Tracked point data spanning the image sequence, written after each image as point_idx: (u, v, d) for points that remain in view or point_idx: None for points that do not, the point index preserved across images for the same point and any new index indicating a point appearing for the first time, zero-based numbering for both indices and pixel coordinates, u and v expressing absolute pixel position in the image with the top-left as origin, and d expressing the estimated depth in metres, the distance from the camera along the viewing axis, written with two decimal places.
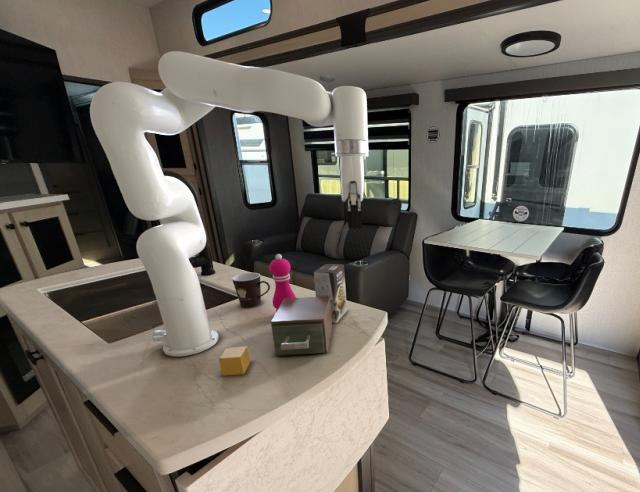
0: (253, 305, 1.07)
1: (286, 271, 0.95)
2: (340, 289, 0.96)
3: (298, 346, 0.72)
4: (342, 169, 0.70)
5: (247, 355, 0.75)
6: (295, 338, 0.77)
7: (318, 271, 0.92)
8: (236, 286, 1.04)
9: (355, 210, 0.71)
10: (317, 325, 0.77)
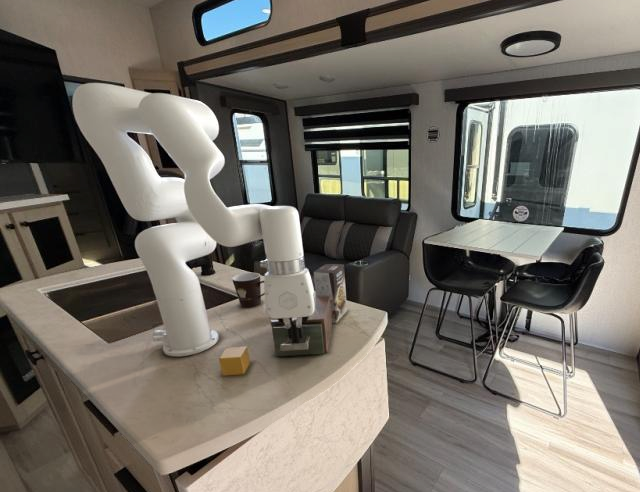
0: (253, 305, 1.07)
1: None
2: (340, 289, 0.96)
3: (298, 347, 0.72)
4: (308, 286, 0.68)
5: (247, 355, 0.75)
6: None
7: (318, 271, 0.92)
8: (236, 286, 1.04)
9: None
10: (317, 326, 0.76)
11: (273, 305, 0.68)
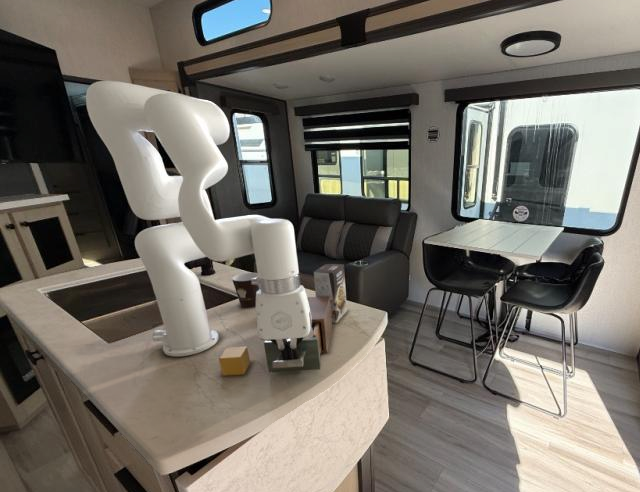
0: (253, 305, 1.07)
1: None
2: (340, 289, 0.96)
3: (292, 364, 0.66)
4: (304, 305, 0.63)
5: (247, 355, 0.75)
6: None
7: (318, 271, 0.92)
8: (236, 286, 1.04)
9: None
10: (313, 340, 0.70)
11: (265, 326, 0.63)
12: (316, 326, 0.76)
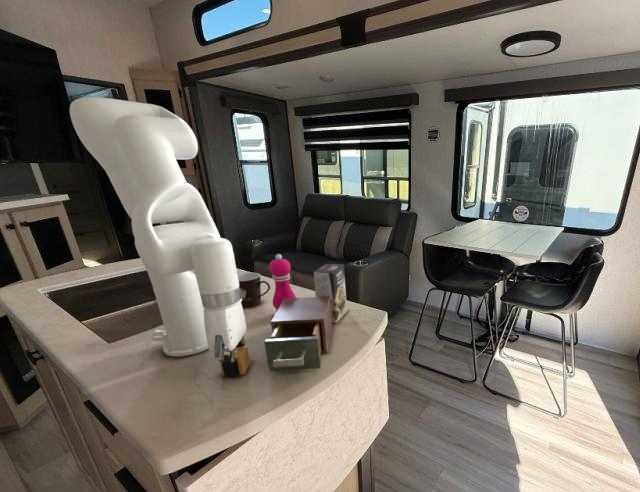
0: (253, 305, 1.07)
1: (286, 271, 0.95)
2: (340, 289, 0.96)
3: (292, 363, 0.66)
4: (205, 324, 0.65)
5: (247, 355, 0.75)
6: (289, 354, 0.71)
7: (318, 271, 0.92)
8: None
9: (228, 362, 0.69)
10: (313, 339, 0.70)
11: None
12: (316, 325, 0.77)
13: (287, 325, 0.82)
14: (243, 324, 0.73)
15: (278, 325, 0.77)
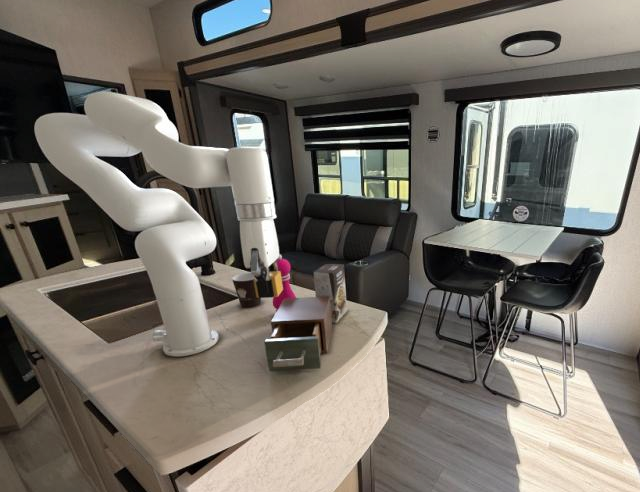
0: (253, 305, 1.07)
1: (286, 271, 0.95)
2: (340, 289, 0.96)
3: (292, 363, 0.66)
4: (241, 236, 0.63)
5: (280, 280, 0.73)
6: (289, 354, 0.71)
7: (318, 271, 0.92)
8: (236, 286, 1.04)
9: (263, 280, 0.67)
10: (313, 339, 0.70)
11: None
12: (316, 325, 0.77)
13: (287, 325, 0.82)
14: (276, 246, 0.72)
15: (278, 325, 0.77)
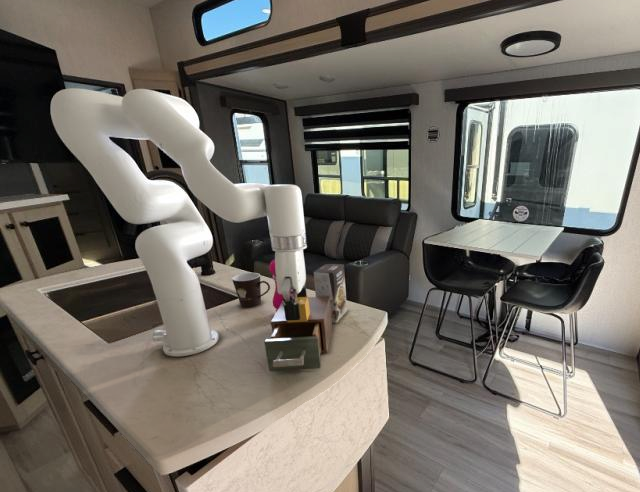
0: (253, 305, 1.07)
1: None
2: (340, 289, 0.96)
3: (292, 363, 0.66)
4: (276, 265, 0.68)
5: (308, 305, 0.79)
6: (289, 354, 0.71)
7: (318, 271, 0.92)
8: (236, 286, 1.04)
9: (291, 304, 0.70)
10: (313, 339, 0.70)
11: None
12: (316, 325, 0.77)
13: (287, 325, 0.82)
14: (304, 272, 0.77)
15: (278, 325, 0.77)
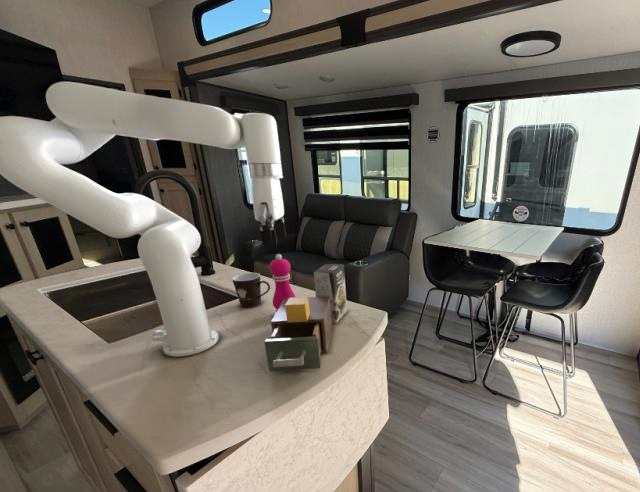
0: (253, 305, 1.07)
1: (286, 271, 0.95)
2: (340, 289, 0.96)
3: (292, 363, 0.66)
4: (253, 191, 0.73)
5: (308, 305, 0.79)
6: (289, 354, 0.71)
7: (318, 271, 0.92)
8: (236, 286, 1.04)
9: (267, 230, 0.75)
10: (313, 339, 0.70)
11: None
12: (316, 325, 0.77)
13: (287, 325, 0.82)
14: (282, 205, 0.81)
15: (278, 325, 0.77)
